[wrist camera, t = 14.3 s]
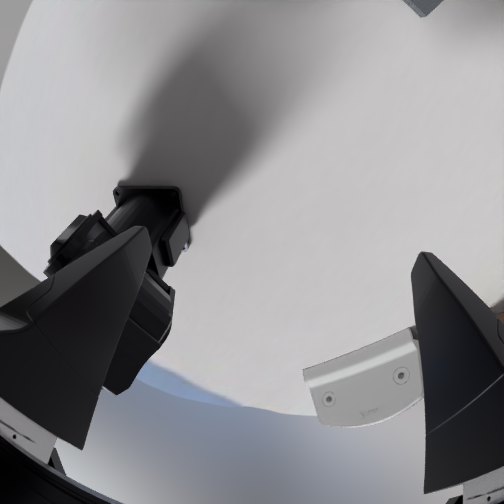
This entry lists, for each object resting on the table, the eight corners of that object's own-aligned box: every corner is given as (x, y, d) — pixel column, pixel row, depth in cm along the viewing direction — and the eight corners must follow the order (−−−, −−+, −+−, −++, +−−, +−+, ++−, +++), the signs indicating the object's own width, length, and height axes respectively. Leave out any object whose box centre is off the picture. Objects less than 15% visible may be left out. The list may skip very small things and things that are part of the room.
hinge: (411, 326, 30) (432, 405, 24) (420, 331, 33) (438, 402, 27) (300, 370, 39) (310, 438, 33) (318, 372, 41) (328, 434, 36)
